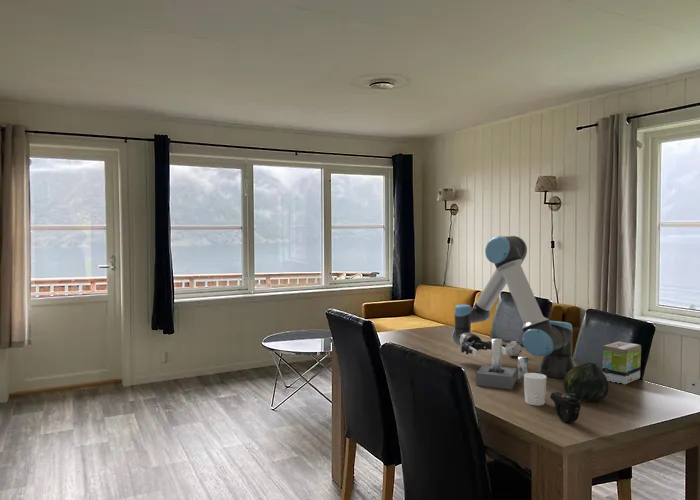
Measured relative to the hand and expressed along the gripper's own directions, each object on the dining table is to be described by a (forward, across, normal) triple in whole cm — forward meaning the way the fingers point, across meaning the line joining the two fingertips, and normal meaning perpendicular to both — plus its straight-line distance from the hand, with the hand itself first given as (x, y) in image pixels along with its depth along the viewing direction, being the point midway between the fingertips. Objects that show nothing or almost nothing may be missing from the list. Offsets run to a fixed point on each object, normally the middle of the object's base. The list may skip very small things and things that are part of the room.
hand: (491, 352), depth 222 cm
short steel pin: (0, -14, -12) cm, 18 cm away
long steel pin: (+4, 0, -12) cm, 12 cm away
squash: (+30, -24, -12) cm, 40 cm away
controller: (+49, -3, -12) cm, 50 cm away
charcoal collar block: (+4, 0, -12) cm, 12 cm away
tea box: (+9, -54, -12) cm, 56 cm away
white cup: (+30, -3, -12) cm, 33 cm away
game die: (-37, -29, -12) cm, 48 cm away
